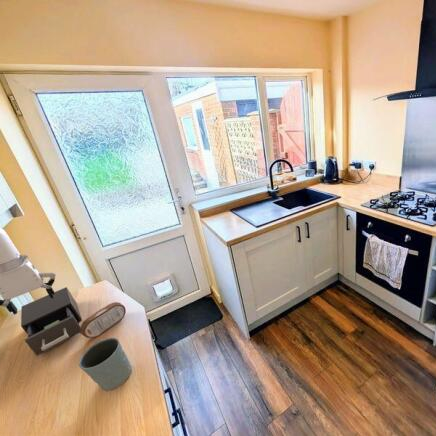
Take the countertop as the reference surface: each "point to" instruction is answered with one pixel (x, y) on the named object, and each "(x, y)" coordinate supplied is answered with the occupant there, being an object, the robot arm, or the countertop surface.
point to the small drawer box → (48, 307)
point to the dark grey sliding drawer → (52, 330)
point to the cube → (51, 324)
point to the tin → (102, 320)
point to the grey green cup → (106, 364)
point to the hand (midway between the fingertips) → (34, 304)
